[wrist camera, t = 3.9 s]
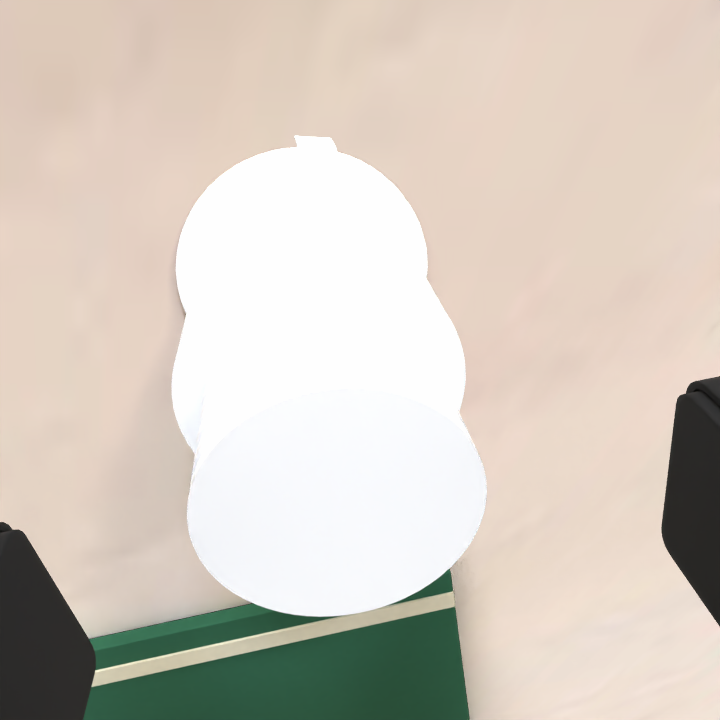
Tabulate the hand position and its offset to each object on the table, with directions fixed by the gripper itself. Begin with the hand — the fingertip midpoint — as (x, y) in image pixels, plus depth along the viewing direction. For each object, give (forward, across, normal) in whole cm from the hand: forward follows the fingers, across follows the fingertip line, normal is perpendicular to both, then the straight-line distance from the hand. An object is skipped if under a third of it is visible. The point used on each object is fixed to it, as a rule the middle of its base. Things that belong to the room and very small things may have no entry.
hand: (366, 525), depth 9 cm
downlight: (+11, 0, 0) cm, 11 cm away
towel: (+10, +6, +19) cm, 23 cm away
